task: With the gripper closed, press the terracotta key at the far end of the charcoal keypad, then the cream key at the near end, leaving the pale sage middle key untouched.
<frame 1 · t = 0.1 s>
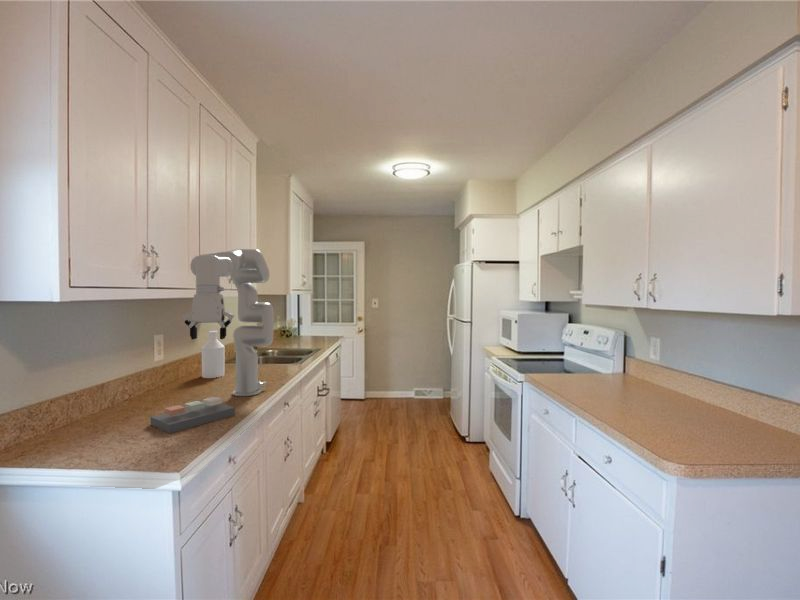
hand: (208, 338, 140), 31 cm above the counter, tool pointing down, fingers open, 9 cm apart
keypad: (194, 420, 148), on the counter
bottle: (213, 376, 222), on the counter
terracotta key: (174, 410, 142), point 5 cm above the counter, slide at 0.0 cm
sage key: (194, 405, 147), point 5 cm above the counter, slide at 0.0 cm
cream key: (212, 401, 153), point 5 cm above the counter, slide at 0.0 cm
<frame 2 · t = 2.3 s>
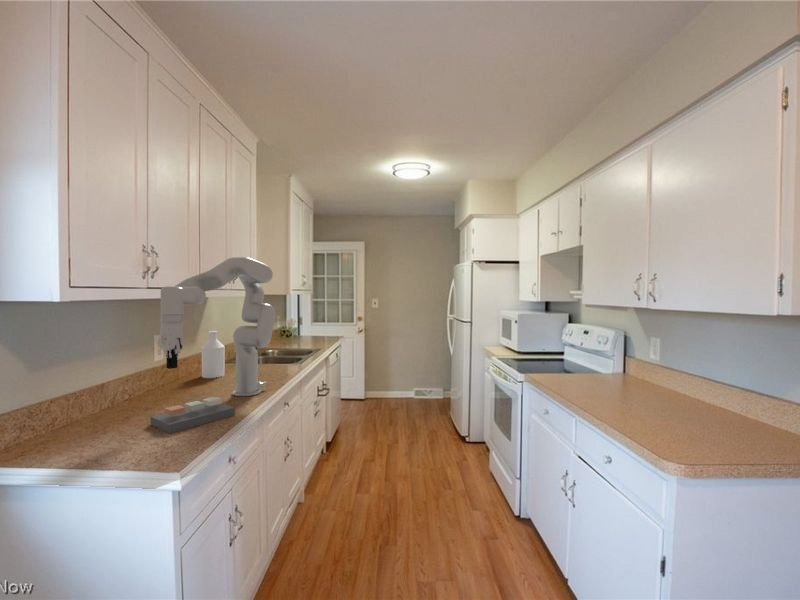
hand: (172, 368, 149), 19 cm above the counter, tool pointing down, fingers closed
nothing on the counter moved.
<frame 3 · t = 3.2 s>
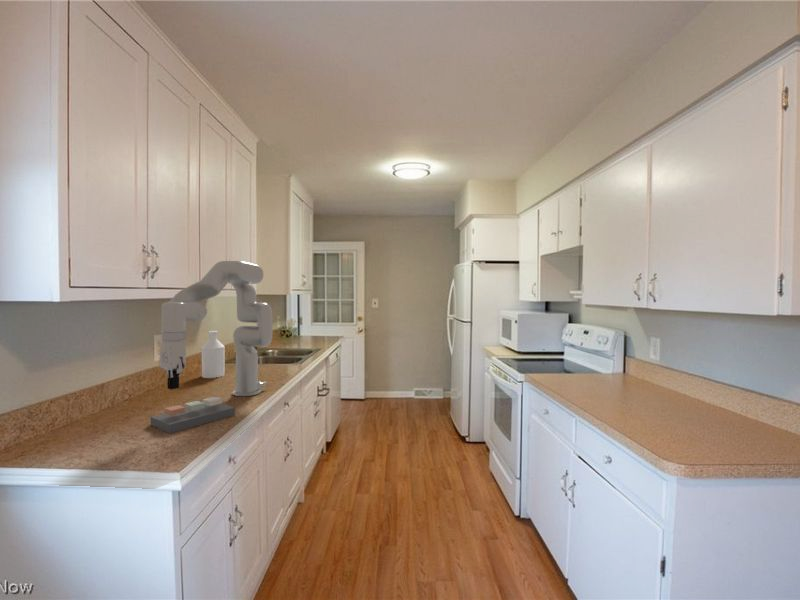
hand: (173, 388, 141), 13 cm above the counter, tool pointing down, fingers closed
nothing on the counter moved.
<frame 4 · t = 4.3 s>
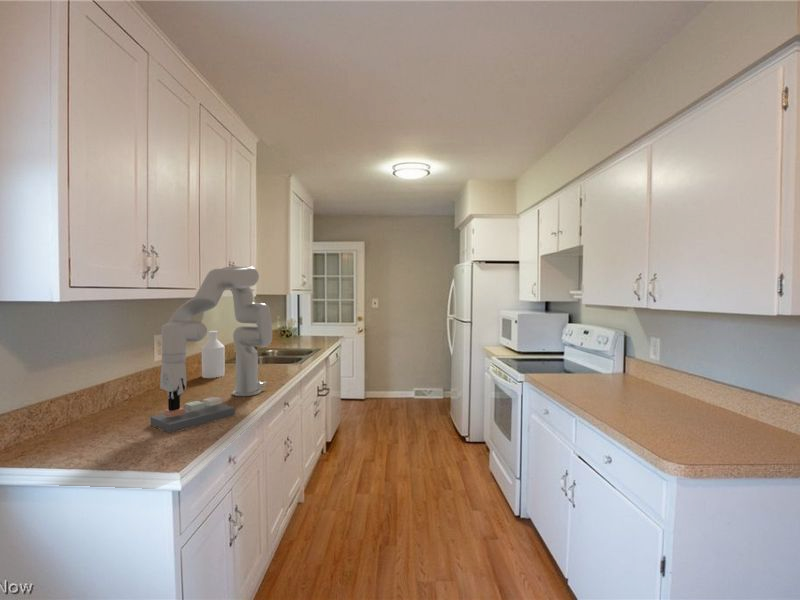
hand: (174, 409, 141), 6 cm above the counter, tool pointing down, fingers closed
terracotta key: (174, 411, 142), point 5 cm above the counter, slide at 0.5 cm, touching gripper
everything else where it was.
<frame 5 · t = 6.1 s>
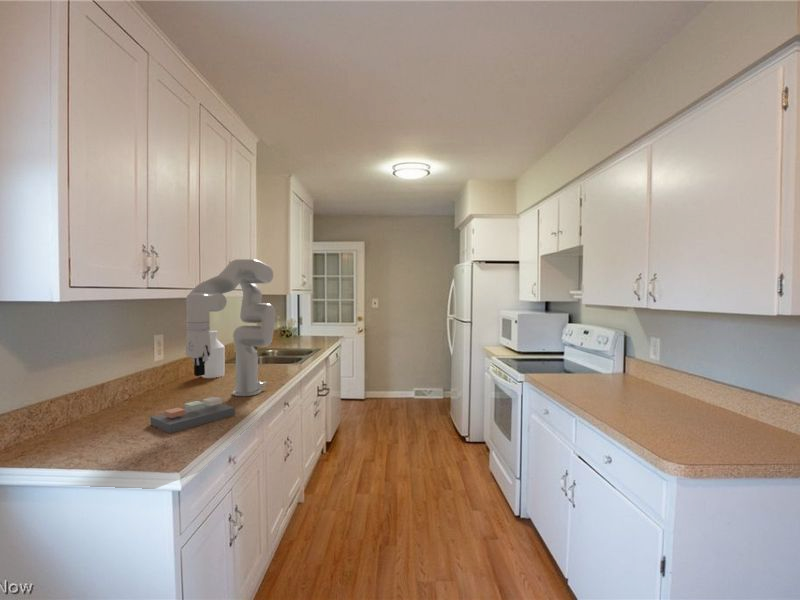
hand: (199, 375, 149), 16 cm above the counter, tool pointing down, fingers closed
terracotta key: (174, 412, 142), point 5 cm above the counter, slide at 0.9 cm
everything else where it was.
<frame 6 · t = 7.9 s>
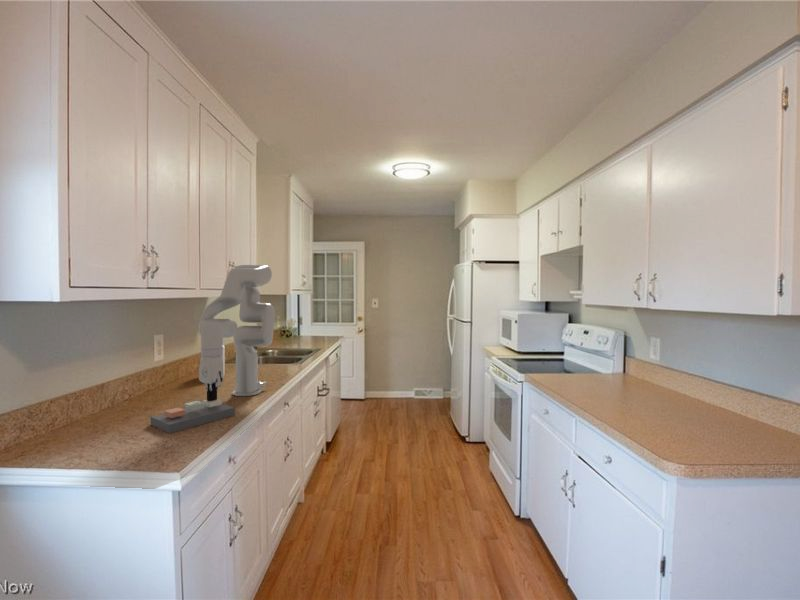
hand: (211, 400, 153), 6 cm above the counter, tool pointing down, fingers closed
cream key: (212, 402, 153), point 5 cm above the counter, slide at 0.4 cm, touching gripper
everything else where it was.
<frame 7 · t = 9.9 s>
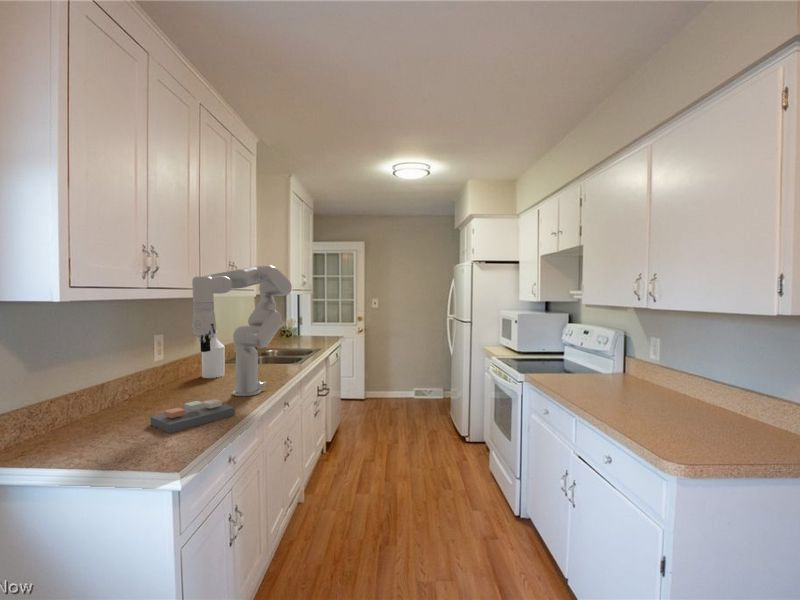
hand: (205, 351, 163), 23 cm above the counter, tool pointing down, fingers closed
cream key: (212, 403, 153), point 4 cm above the counter, slide at 0.9 cm
everything else where it was.
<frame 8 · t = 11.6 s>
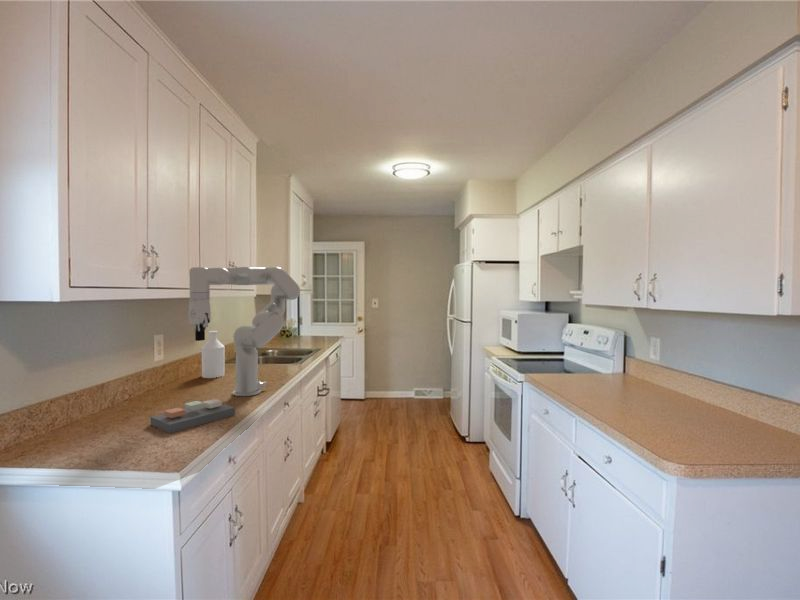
hand: (200, 340, 167), 27 cm above the counter, tool pointing down, fingers closed
nothing on the counter moved.
at the end: terracotta key slide at 0.9 cm; cream key slide at 0.9 cm; sage key slide at 0.0 cm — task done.
